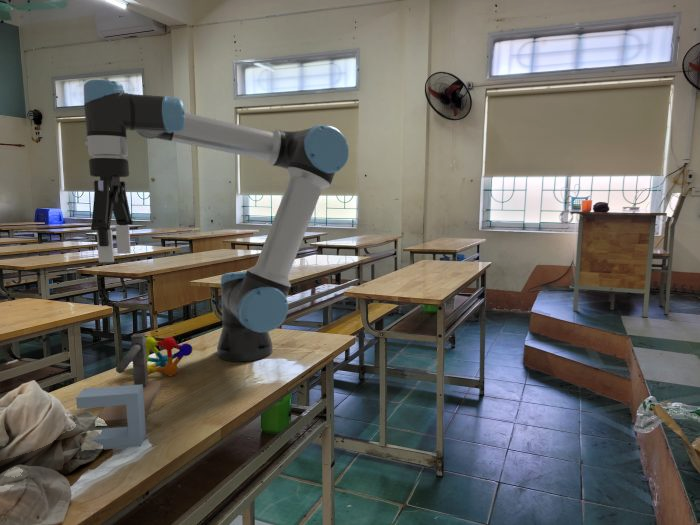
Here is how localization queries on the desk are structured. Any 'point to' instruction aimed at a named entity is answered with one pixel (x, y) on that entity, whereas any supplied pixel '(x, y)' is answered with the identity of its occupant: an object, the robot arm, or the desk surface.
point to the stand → (150, 388)
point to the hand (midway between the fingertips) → (116, 257)
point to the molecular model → (165, 360)
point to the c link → (115, 397)
